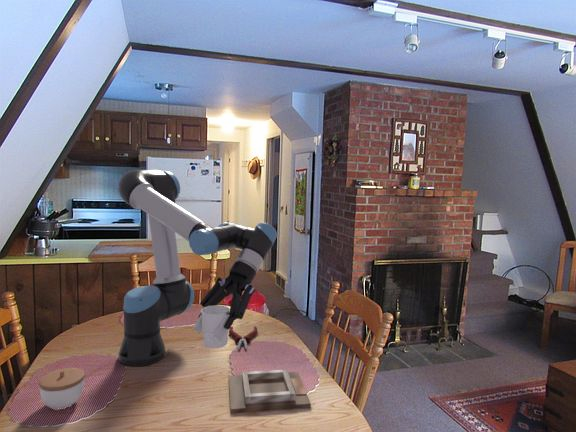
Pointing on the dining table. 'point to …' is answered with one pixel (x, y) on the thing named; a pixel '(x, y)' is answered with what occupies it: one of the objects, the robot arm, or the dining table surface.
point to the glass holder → (267, 391)
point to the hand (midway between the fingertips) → (206, 334)
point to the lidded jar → (61, 387)
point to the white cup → (213, 325)
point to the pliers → (247, 338)
